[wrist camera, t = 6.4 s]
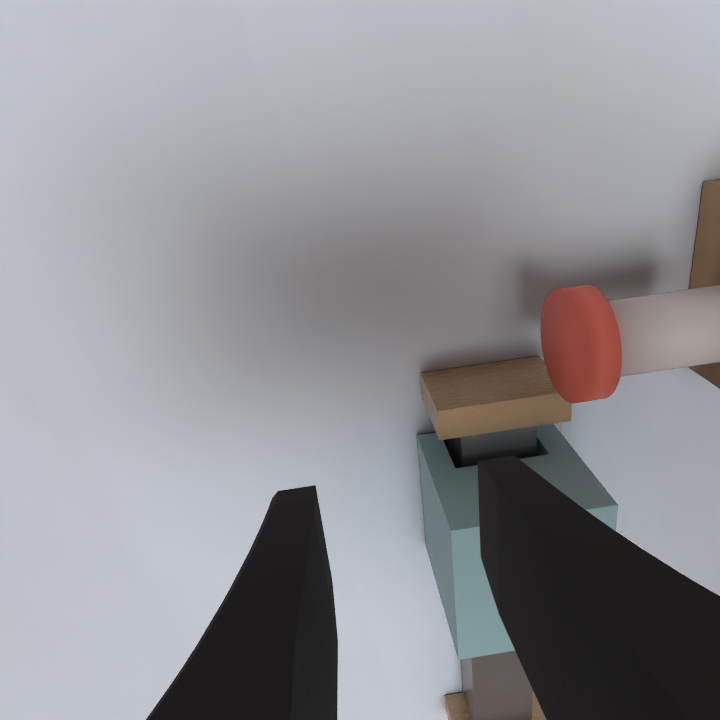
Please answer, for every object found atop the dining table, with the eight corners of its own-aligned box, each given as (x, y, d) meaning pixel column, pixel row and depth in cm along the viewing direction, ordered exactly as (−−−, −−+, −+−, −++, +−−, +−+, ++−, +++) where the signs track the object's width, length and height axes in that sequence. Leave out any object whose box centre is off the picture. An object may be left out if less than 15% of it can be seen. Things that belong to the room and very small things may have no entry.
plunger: (710, 251, 16) (795, 282, 13) (696, 350, 17) (771, 396, 15) (541, 275, 16) (592, 310, 13) (539, 373, 17) (585, 424, 14)
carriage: (546, 416, 20) (617, 505, 16) (544, 528, 22) (606, 635, 18) (416, 435, 20) (450, 531, 15) (426, 547, 22) (458, 660, 18)
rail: (538, 355, 19) (572, 391, 17) (532, 695, 26) (555, 754, 24) (420, 373, 19) (437, 410, 17) (446, 710, 26) (460, 770, 24)
